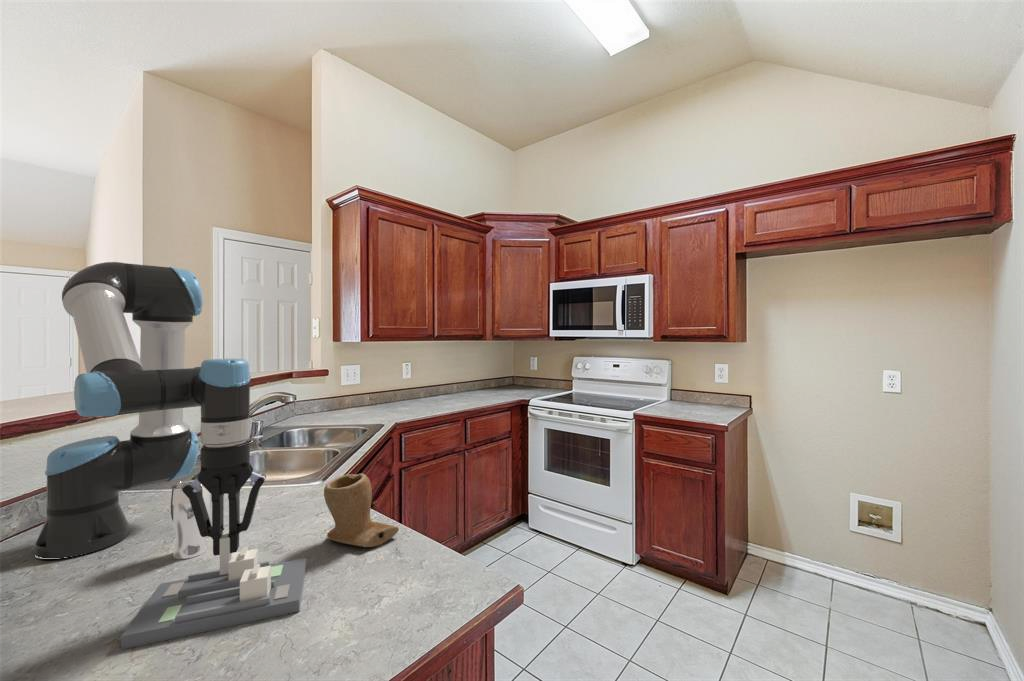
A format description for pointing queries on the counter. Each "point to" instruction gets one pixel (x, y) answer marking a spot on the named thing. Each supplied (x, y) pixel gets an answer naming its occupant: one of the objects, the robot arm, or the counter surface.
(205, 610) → the switch board
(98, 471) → the robot arm
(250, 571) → the tab
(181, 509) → the beer glass
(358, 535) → the clay platform pipe
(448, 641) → the counter surface
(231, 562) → the tab
